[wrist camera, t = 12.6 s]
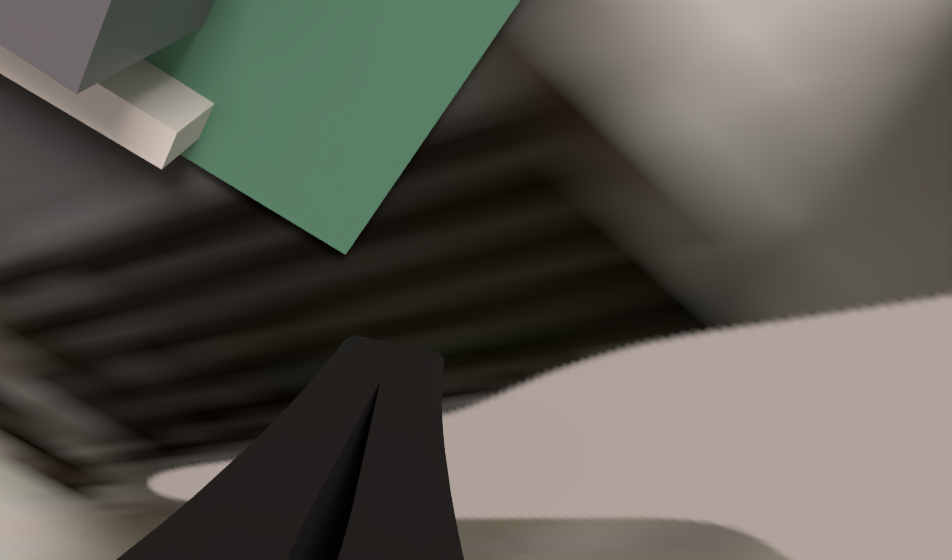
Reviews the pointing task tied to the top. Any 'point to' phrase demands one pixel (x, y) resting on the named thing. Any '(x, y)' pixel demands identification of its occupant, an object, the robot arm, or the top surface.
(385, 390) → the robot arm
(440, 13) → the board
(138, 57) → the plug block
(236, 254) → the top surface
